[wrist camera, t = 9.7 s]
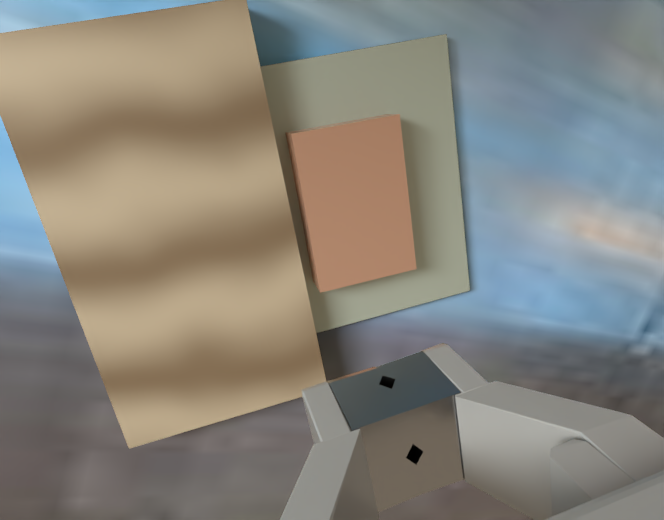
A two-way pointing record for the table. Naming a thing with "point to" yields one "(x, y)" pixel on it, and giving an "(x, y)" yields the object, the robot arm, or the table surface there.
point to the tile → (353, 200)
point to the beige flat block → (165, 210)
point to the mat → (420, 161)
